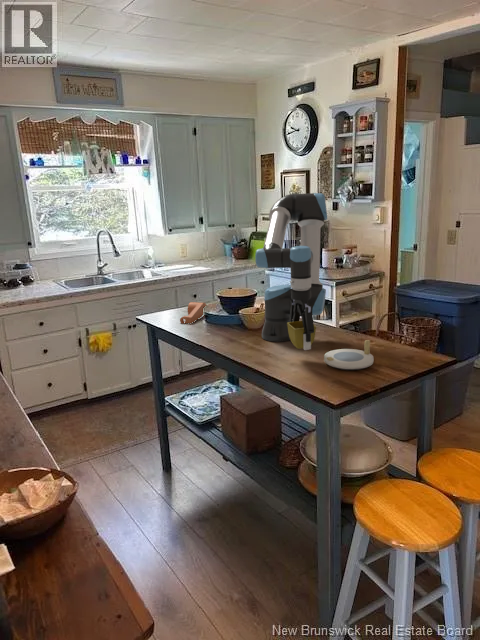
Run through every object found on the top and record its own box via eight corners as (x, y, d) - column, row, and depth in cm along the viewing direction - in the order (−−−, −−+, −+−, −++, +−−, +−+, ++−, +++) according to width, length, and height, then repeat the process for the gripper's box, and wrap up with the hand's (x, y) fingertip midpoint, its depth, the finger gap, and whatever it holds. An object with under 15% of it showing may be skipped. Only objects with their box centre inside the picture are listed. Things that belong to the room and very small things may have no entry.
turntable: (315, 356, 183) (315, 340, 182) (355, 350, 189) (356, 334, 187) (340, 372, 167) (340, 354, 165) (383, 364, 173) (384, 347, 171)
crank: (194, 314, 264) (193, 300, 262) (207, 315, 262) (206, 301, 260) (178, 324, 246) (176, 309, 244) (191, 324, 244) (190, 309, 242)
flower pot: (316, 348, 180) (316, 326, 178) (295, 351, 178) (294, 328, 176) (307, 341, 188) (307, 319, 186) (287, 344, 186) (286, 322, 184)
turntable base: (324, 361, 182) (324, 358, 182) (353, 356, 186) (353, 353, 186) (342, 372, 170) (342, 369, 170) (373, 367, 174) (373, 364, 174)
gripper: (279, 284, 185) (281, 338, 192) (305, 295, 166) (305, 356, 172) (297, 281, 188) (297, 336, 194) (324, 293, 168) (324, 352, 175)
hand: (301, 345), depth 183 cm, fingers closed on flower pot, 9 cm apart
